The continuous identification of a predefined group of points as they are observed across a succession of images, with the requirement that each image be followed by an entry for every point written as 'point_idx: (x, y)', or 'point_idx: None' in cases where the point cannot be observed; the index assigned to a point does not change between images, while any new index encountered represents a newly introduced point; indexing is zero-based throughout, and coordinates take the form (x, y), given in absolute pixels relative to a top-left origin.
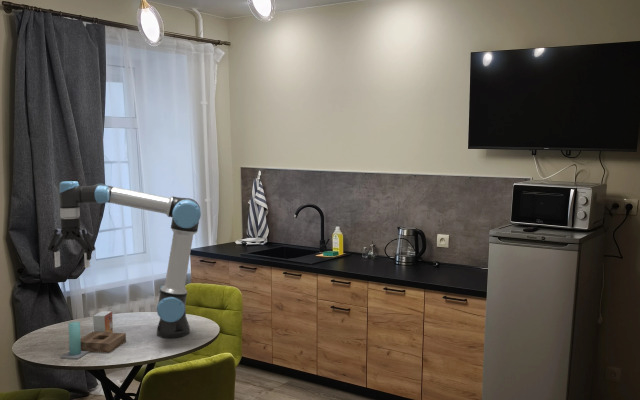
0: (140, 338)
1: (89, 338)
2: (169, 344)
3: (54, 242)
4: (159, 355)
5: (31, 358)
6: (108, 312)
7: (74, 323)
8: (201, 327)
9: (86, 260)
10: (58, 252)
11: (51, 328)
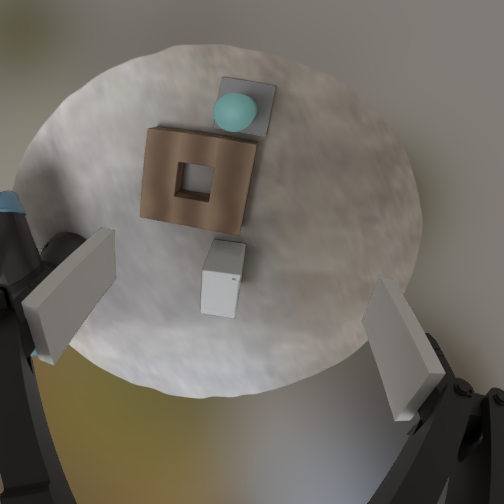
0: (125, 234)
1: (223, 173)
2: (52, 192)
3: (474, 482)
4: (48, 122)
5: (354, 94)
6: (205, 302)
7: (230, 107)
8: None
9: (67, 262)
10: (402, 398)
11: None
